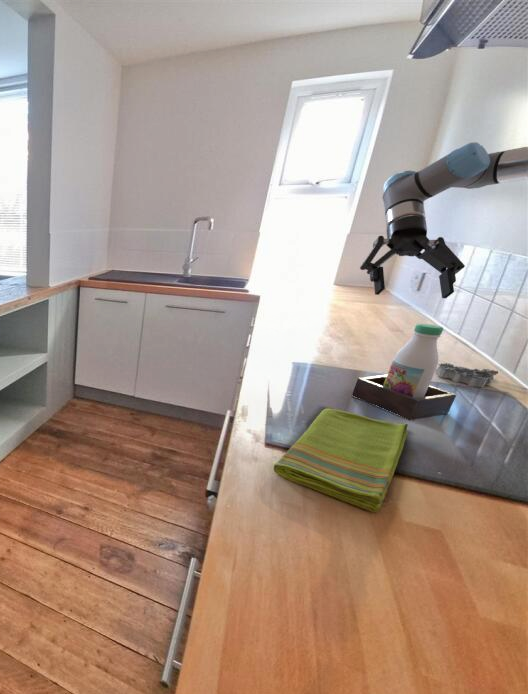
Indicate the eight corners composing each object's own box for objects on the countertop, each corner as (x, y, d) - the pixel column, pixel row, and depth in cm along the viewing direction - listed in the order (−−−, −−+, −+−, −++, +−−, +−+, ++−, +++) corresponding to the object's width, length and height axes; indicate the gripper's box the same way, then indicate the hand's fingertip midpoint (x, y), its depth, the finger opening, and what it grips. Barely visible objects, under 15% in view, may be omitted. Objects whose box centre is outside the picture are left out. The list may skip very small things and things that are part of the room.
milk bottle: (398, 397, 105) (430, 321, 97) (427, 411, 98) (464, 330, 90) (369, 398, 105) (398, 321, 97) (396, 412, 98) (429, 330, 90)
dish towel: (270, 474, 75) (274, 459, 74) (321, 412, 97) (325, 400, 96) (377, 517, 65) (384, 500, 63) (407, 436, 87) (413, 423, 86)
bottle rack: (447, 413, 97) (456, 394, 95) (408, 420, 94) (417, 400, 92) (387, 391, 109) (394, 373, 107) (351, 396, 106) (357, 378, 104)
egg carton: (494, 385, 112) (502, 371, 110) (477, 389, 110) (484, 375, 108) (447, 371, 121) (453, 358, 119) (430, 374, 119) (435, 361, 117)
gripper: (454, 236, 107) (465, 305, 100) (342, 233, 115) (345, 298, 108) (477, 214, 101) (491, 287, 94) (356, 213, 108) (360, 281, 101)
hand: (413, 293), depth 101 cm, fingers open, 13 cm apart
